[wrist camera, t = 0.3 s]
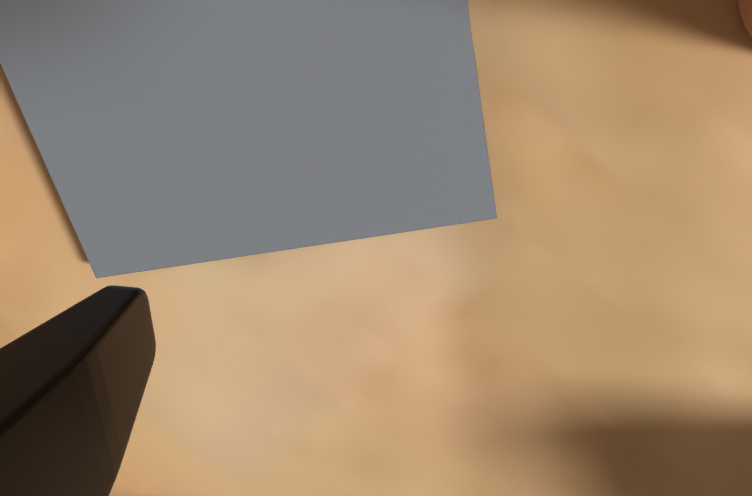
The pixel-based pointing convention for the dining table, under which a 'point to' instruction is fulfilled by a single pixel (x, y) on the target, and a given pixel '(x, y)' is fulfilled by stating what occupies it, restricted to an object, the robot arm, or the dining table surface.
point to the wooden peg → (746, 14)
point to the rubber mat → (249, 122)
